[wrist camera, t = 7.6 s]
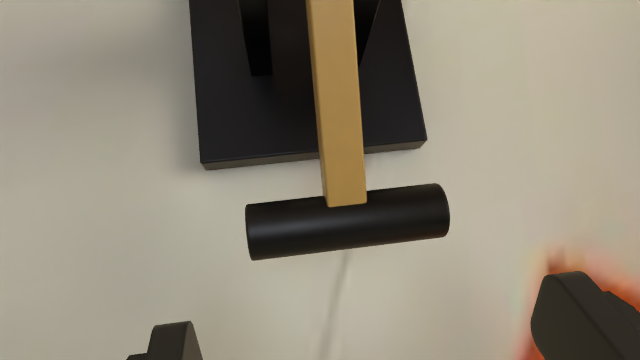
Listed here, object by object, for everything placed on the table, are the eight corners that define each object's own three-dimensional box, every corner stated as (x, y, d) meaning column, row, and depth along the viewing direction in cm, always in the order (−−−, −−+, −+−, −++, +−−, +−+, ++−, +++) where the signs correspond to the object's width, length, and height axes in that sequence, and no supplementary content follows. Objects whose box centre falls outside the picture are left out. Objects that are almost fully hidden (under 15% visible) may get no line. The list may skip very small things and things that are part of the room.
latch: (427, 223, 14) (457, 249, 12) (253, 244, 14) (249, 276, 12) (406, -265, 12) (441, -354, 9) (190, -261, 11) (169, -352, 9)
